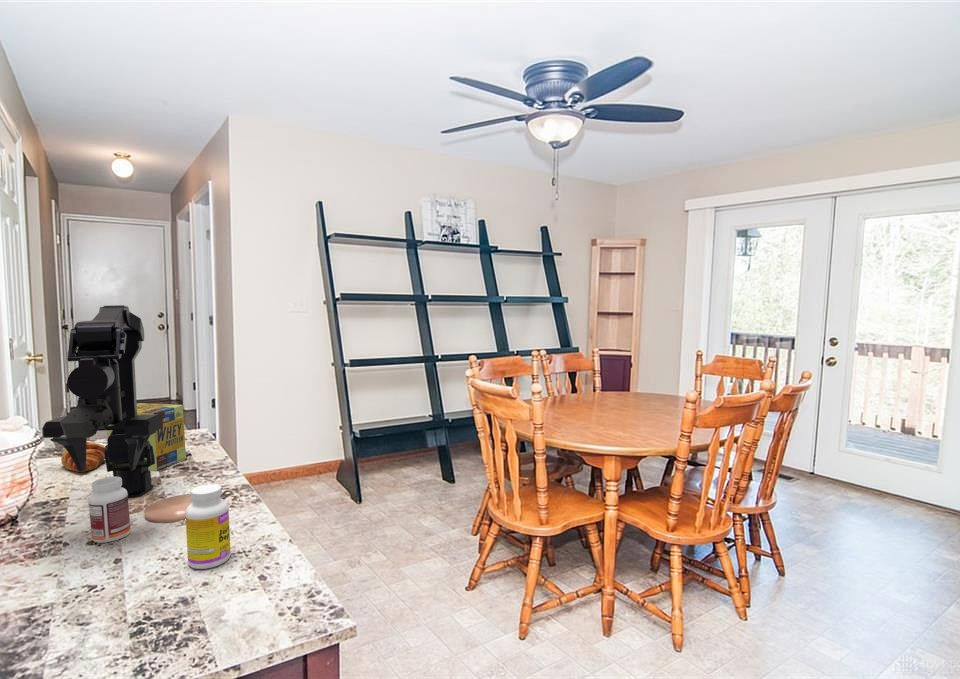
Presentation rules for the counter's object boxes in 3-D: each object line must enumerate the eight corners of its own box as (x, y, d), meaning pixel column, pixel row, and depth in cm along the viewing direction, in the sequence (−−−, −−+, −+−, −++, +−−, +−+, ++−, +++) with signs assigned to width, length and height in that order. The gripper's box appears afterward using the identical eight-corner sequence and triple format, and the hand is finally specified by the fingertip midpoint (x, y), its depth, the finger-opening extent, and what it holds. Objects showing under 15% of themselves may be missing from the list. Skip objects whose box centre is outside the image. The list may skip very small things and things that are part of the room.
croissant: (73, 469, 153) (54, 447, 151) (109, 447, 158) (92, 425, 156) (73, 489, 136) (52, 465, 134) (114, 464, 141) (94, 440, 139)
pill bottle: (132, 526, 107) (129, 472, 106) (128, 539, 102) (124, 482, 101) (95, 533, 105) (90, 477, 104) (88, 546, 99) (83, 488, 98)
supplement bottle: (224, 569, 91) (220, 494, 90) (182, 572, 90) (177, 497, 89) (235, 550, 97) (232, 480, 96) (196, 553, 96) (192, 483, 95)
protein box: (157, 471, 140) (153, 413, 139) (108, 467, 144) (104, 410, 142) (187, 459, 150) (184, 404, 149) (141, 456, 154) (137, 402, 152)
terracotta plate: (131, 523, 109) (130, 519, 109) (164, 498, 122) (164, 494, 122) (197, 521, 110) (197, 516, 109) (223, 497, 122) (223, 492, 122)
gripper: (14, 398, 92) (22, 487, 94) (128, 396, 93) (134, 484, 95) (60, 386, 103) (67, 466, 105) (162, 384, 104) (166, 463, 106)
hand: (107, 470), depth 102 cm, fingers open, 9 cm apart
